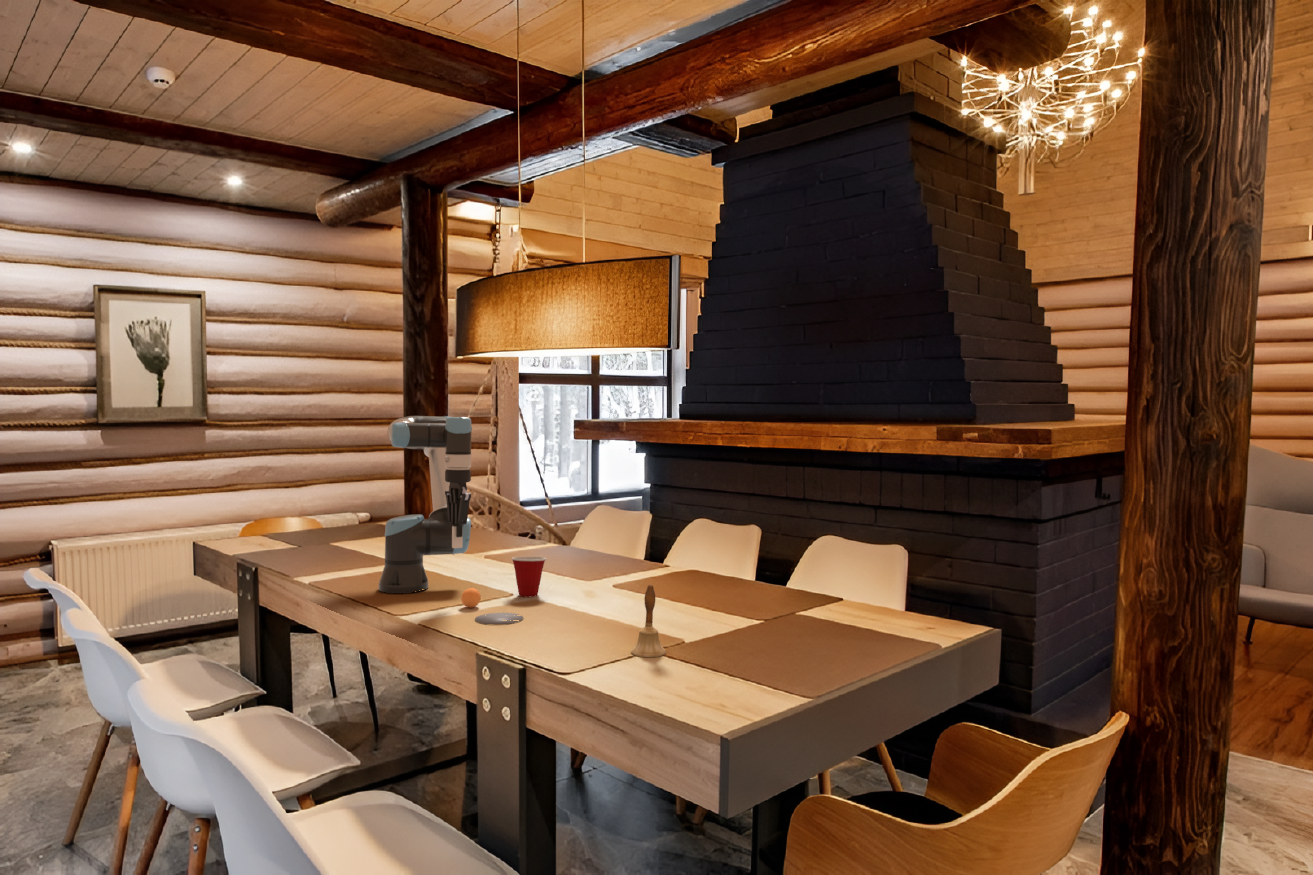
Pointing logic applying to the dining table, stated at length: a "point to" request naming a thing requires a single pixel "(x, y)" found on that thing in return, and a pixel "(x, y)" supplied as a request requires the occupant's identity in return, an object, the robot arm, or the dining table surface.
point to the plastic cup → (528, 574)
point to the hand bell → (648, 631)
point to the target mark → (498, 618)
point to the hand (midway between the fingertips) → (457, 547)
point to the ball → (471, 597)
